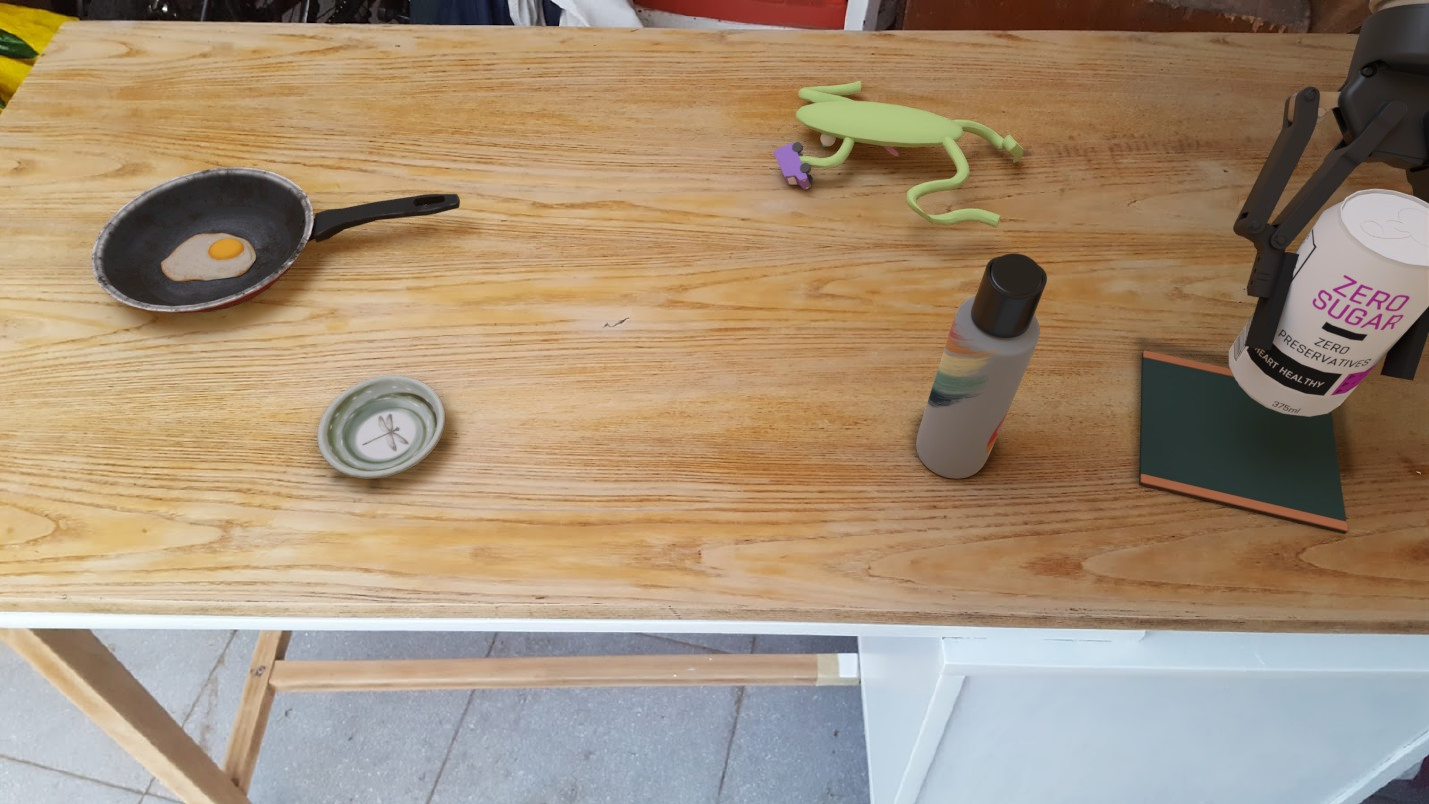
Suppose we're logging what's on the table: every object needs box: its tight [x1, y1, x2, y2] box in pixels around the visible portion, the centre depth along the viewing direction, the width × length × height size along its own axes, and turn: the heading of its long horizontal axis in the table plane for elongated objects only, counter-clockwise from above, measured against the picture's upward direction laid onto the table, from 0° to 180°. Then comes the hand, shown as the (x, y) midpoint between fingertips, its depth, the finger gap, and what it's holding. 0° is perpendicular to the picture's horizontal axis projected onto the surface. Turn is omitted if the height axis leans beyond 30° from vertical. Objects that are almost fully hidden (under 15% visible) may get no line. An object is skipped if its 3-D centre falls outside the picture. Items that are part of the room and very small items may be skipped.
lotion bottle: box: [915, 252, 1048, 480], centre depth 67 cm, size 6×6×20 cm
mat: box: [1138, 350, 1349, 534], centre depth 76 cm, size 15×14×1 cm
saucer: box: [316, 375, 446, 480], centre depth 74 cm, size 10×10×2 cm
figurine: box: [773, 79, 1025, 229], centre depth 94 cm, size 18×27×6 cm
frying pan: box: [90, 166, 461, 315], centre depth 87 cm, size 19×32×4 cm, turn 102°
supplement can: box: [1228, 188, 1429, 417], centre depth 64 cm, size 8×8×15 cm
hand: (1326, 362), depth 64 cm, fingers closed on supplement can, 8 cm apart
